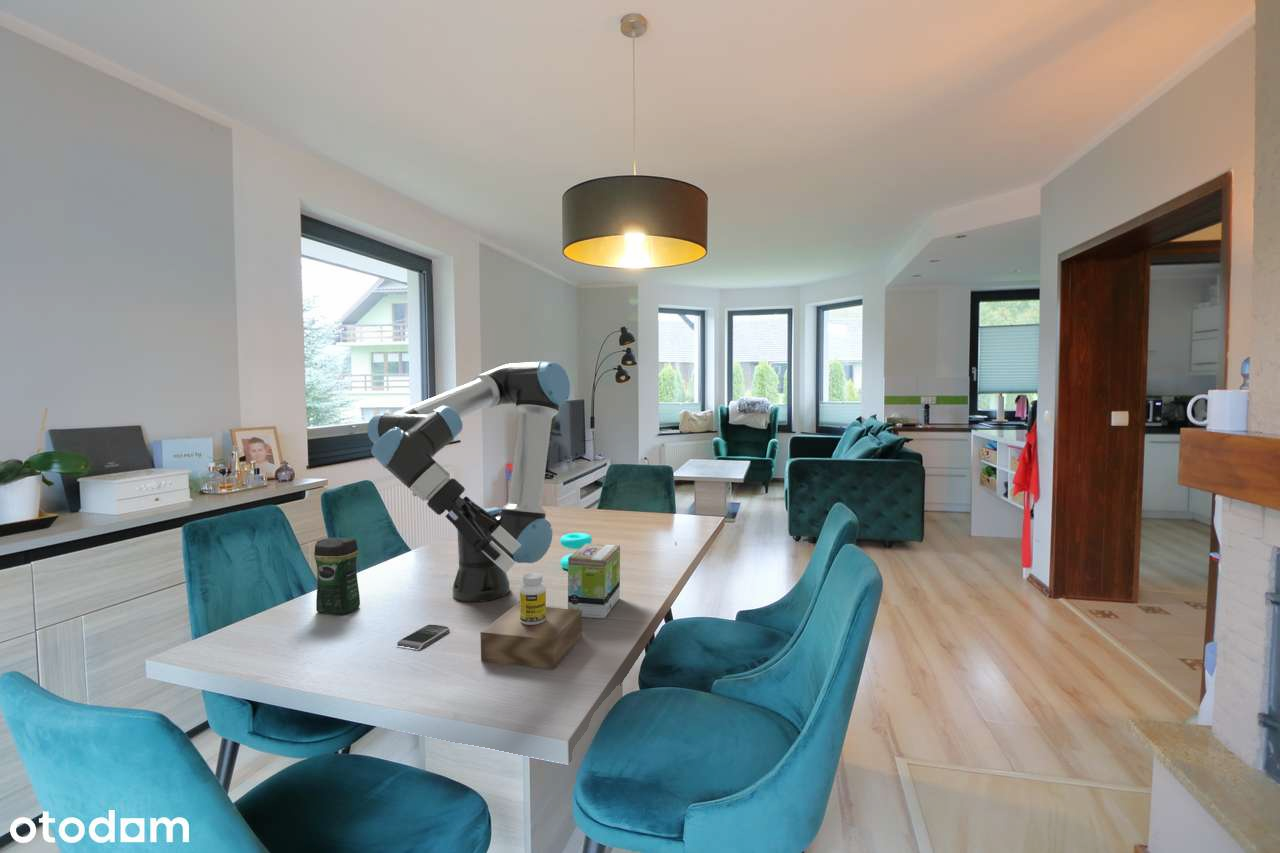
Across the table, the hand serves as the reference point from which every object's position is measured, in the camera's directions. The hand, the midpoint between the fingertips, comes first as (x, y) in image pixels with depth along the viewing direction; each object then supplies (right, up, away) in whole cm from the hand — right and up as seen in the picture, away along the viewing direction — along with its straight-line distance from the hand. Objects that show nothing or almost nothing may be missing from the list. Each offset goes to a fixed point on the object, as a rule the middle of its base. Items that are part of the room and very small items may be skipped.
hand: (514, 558), depth 121 cm
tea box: (+15, -19, +25) cm, 35 cm away
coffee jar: (-50, -19, +24) cm, 59 cm away
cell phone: (-22, -20, +7) cm, 30 cm away
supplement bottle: (+4, -14, +1) cm, 14 cm away
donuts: (+6, -17, +61) cm, 63 cm away
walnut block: (+4, -20, +1) cm, 20 cm away
